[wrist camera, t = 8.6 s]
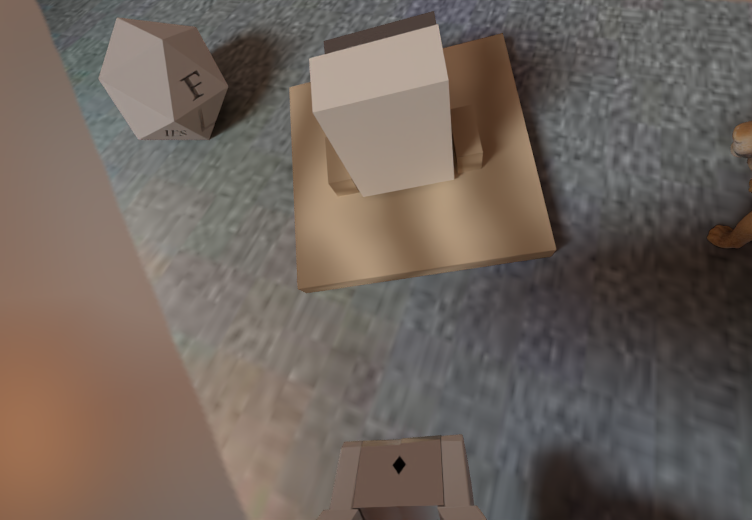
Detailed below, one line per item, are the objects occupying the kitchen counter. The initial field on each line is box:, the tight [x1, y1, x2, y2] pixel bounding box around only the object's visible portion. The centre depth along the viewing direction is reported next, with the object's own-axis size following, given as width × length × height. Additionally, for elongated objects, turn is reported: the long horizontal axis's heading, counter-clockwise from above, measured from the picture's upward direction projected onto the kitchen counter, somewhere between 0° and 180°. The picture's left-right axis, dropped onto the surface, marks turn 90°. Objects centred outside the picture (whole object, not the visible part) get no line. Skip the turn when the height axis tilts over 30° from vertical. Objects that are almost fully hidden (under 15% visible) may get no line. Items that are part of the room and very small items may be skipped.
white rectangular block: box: [309, 24, 454, 197], centre depth 21 cm, size 6×3×9 cm, turn 96°
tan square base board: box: [289, 33, 556, 293], centre depth 26 cm, size 16×16×4 cm
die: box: [99, 18, 228, 140], centre depth 30 cm, size 8×9×10 cm
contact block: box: [324, 11, 436, 54], centre depth 24 cm, size 6×3×6 cm, turn 96°
